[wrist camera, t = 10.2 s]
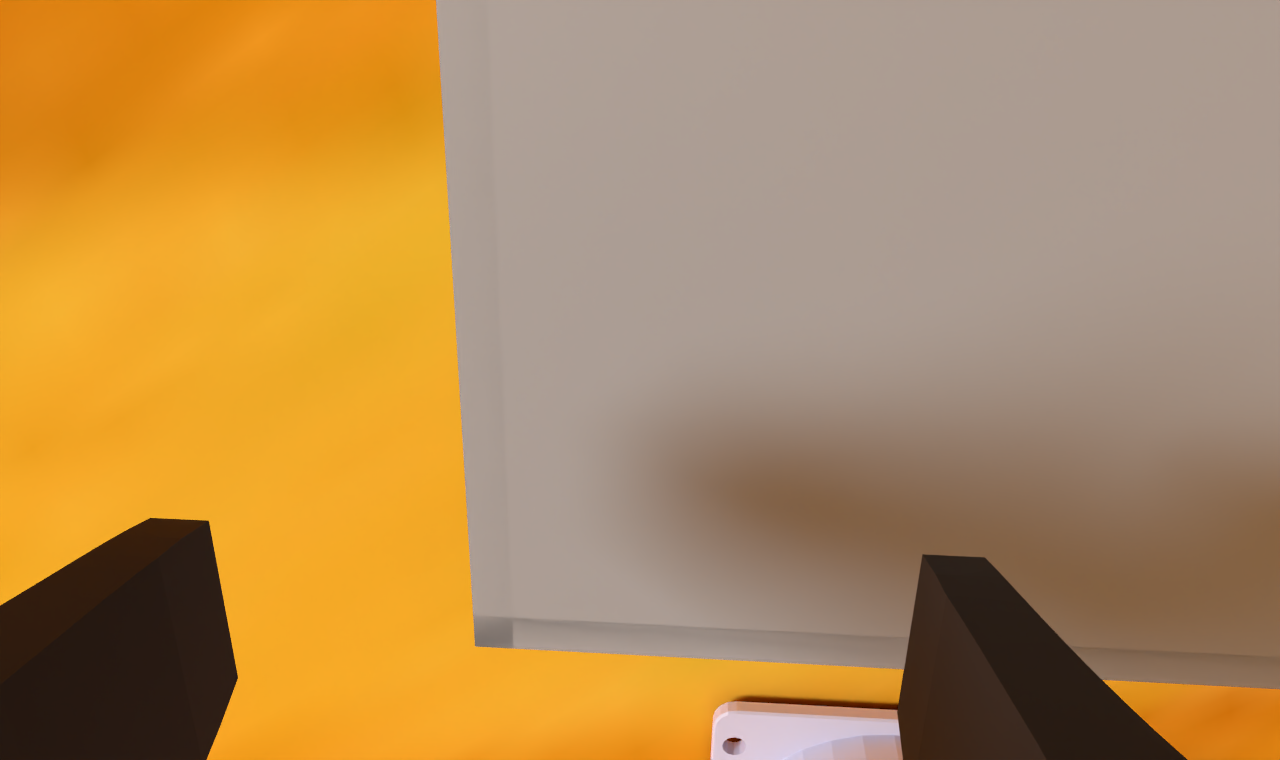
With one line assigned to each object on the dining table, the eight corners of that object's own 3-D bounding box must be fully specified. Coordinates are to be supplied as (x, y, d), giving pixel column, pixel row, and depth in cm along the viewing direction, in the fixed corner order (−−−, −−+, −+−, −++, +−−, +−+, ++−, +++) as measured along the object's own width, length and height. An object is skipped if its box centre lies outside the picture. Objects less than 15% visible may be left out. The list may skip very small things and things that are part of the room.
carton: (1335, 490, 22) (1541, 702, 16) (532, 454, 22) (475, 646, 17) (1656, -439, 15) (2181, -600, 10) (505, -448, 16) (399, -602, 10)
